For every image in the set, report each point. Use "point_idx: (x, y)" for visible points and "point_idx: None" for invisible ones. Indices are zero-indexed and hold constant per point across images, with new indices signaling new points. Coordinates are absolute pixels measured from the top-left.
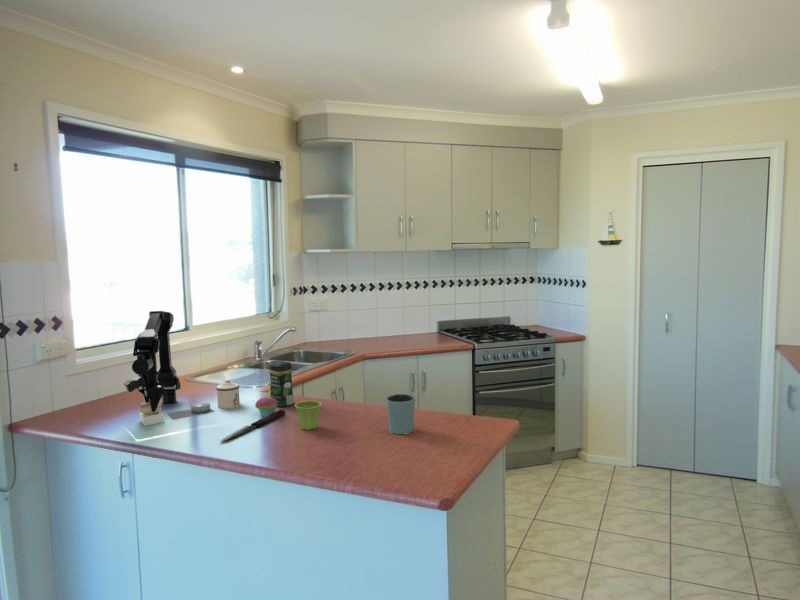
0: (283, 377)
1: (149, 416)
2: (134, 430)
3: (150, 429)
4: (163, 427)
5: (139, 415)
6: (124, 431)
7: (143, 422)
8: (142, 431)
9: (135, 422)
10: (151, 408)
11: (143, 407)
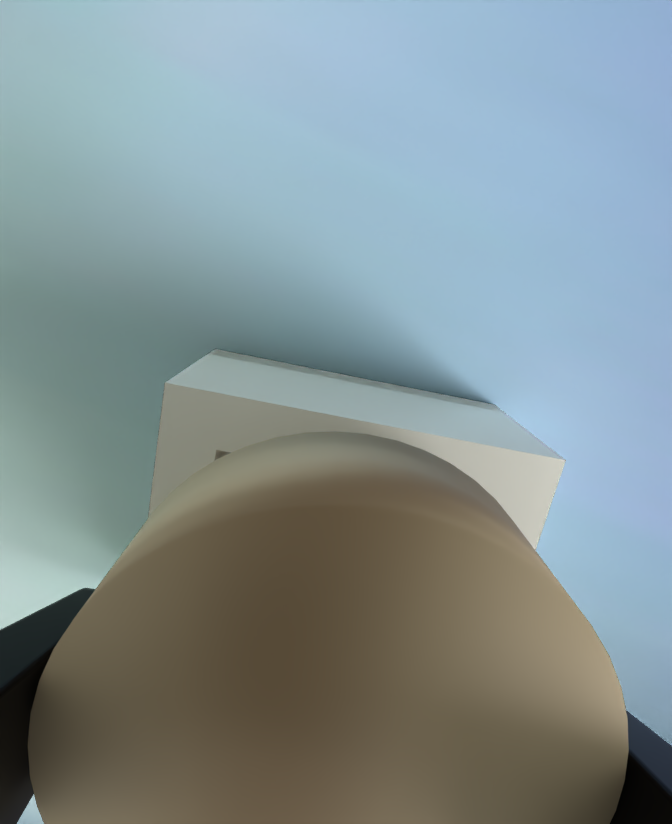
0: None
1: (154, 487)
2: (196, 182)
3: (57, 368)
4: (17, 523)
5: (540, 442)
6: (274, 39)
7: (240, 368)
8: (44, 244)
9: (596, 381)
10: (22, 628)
11: (221, 510)
